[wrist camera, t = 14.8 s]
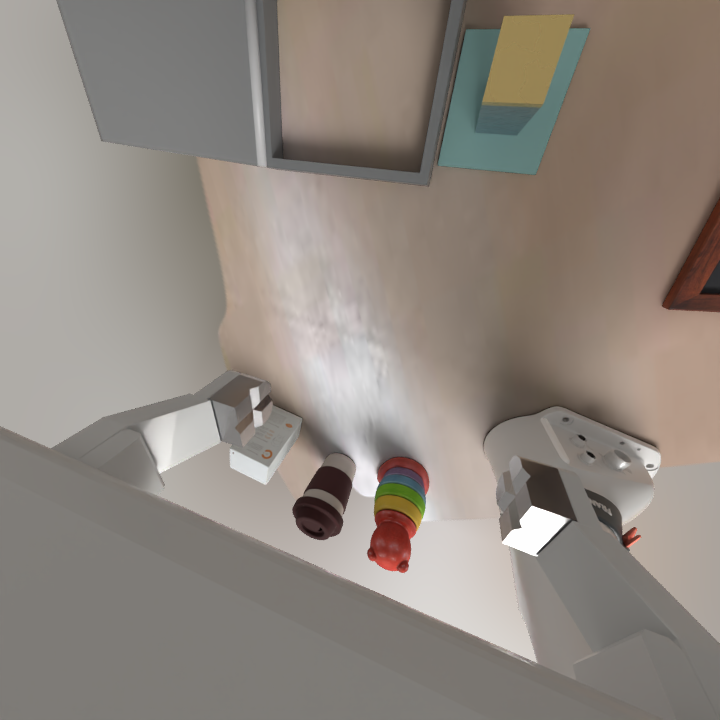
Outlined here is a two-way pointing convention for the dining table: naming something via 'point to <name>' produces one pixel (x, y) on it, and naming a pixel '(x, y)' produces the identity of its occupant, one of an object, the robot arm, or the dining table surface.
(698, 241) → the picture frame
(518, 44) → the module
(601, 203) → the dining table surface
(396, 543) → the stacking bear
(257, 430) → the small box
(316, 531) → the coffee cup
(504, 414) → the dining table surface
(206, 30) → the case
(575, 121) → the dining table surface
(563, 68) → the pad
